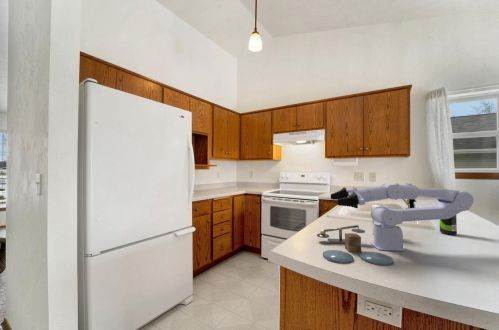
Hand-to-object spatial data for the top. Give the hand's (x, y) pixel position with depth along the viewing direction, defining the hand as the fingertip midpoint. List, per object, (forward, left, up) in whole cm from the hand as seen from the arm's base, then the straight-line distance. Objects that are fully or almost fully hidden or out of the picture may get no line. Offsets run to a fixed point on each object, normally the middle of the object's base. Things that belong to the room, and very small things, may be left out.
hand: (334, 199), depth 90 cm
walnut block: (-6, +4, -19) cm, 21 cm away
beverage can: (-61, -25, -19) cm, 69 cm away
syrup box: (-26, -17, -19) cm, 37 cm away
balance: (-4, -5, -19) cm, 20 cm away
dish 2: (-11, +12, -19) cm, 25 cm away
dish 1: (+2, +12, -19) cm, 23 cm away
